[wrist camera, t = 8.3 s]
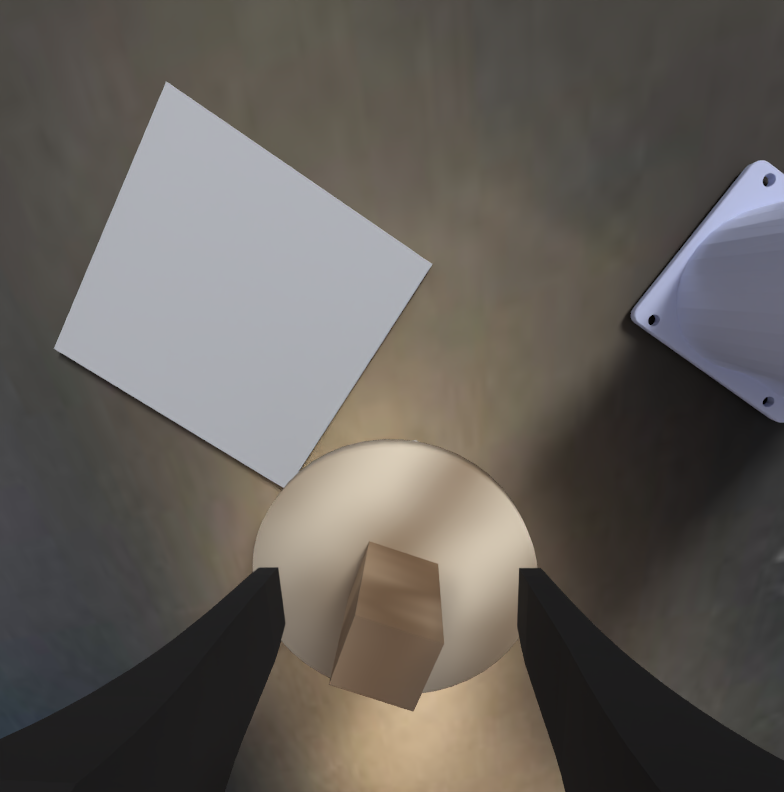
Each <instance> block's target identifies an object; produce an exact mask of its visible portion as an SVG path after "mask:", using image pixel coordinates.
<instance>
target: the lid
mask: <svg viewBox="0 0 784 792" xmlns="http://www.w3.org/2000/svg"><path fill="white" fill-rule="evenodd" d="M259 567H278V569H279V577H280V584H281V592H282V600H283V607H284V615H285V623H286V624H285V628H284V632H283V635H282V639H281V641H282V642H283V643H284V644H285V645H286V646H287V647H288V648H289V649H290V651H291V652H292V653H293V654H295V655H296V656H297V657H298V658H300V659H301V660H302V661H303V662H304V663H306V664H307V665H309V666H310V667H312V668H313V669H315V670H316V671H318V672H319V673H321V674H323V675H325V676H327V677H329V678H330V682H329V685H332V686H335V687H338V688H341V689H344V690H348V691H351V692H354V693H357V694H360V695H363V696H366V697H369V698H373V699H376V700H379V701H382V702H385V703H388V704H391V705H394V706H398V707H401V708H404V709H407V710H410V711H414V709H415V707H416V705H417V703H418V700H419V698H420V696H421V694H422V693H426V692H432V691H437V690H441V689H444V688H448V687H452V686H454V685H457V684H459V683H462V682H464V681H467V680H469V679H471V678H473V677H474V676H476V675H478V674H480V673H482V672H483V671H485V670H486V669H487V668H489V667H490V666H492V665H493V664H495V663H496V662H497V661H498V660H499V659H500V658H501V657H502V656H503V655H504V654H506V653H507V652H508V650H509V649H510V648H511V647H512V646H513V644H514V643H515V642H516V641H517V639H518V638H519V634H518V629H517V613H518V584H519V568H537V560H536V556H535V551H534V547H533V544H532V541H531V538H530V536H529V533H528V531H527V528H526V526H525V524H524V522H523V520H522V517H521V515H520V514H519V512H518V510H517V508H516V506H515V505H514V503H513V501H512V500H511V499H510V497H509V496H508V495H507V493H506V492H505V491H504V490H503V488H502V487H501V486H500V485H499V484H498V483H497V482H496V481H495V480H494V479H493V478H492V477H491V476H490V475H489V474H487V473H486V472H485V471H483V470H482V469H481V468H479V467H478V466H477V465H475V464H474V463H472V462H470V461H469V460H467V459H465V458H463V457H461V456H460V455H458V454H456V453H453V452H451V451H448V450H446V449H443V448H441V447H437V446H434V445H430V444H426V443H422V442H416V441H409V440H395V439H382V440H373V441H364V442H360V443H356V444H352V445H347V446H344V447H342V448H339V449H337V450H334V451H331V452H329V453H327V454H325V455H323V456H322V457H320V458H318V459H316V460H314V461H313V462H311V463H310V464H309V465H307V466H306V467H305V468H303V469H302V470H300V471H299V472H298V473H297V474H296V475H295V476H294V477H293V478H292V479H291V480H290V481H289V482H288V483H287V485H286V486H285V487H284V488H283V490H282V491H281V492H280V494H279V495H278V496H277V498H276V499H275V501H274V502H273V504H272V505H271V507H270V508H269V510H268V512H267V514H266V516H265V517H264V519H263V521H262V523H261V526H260V529H259V532H258V534H257V537H256V542H255V547H254V552H253V572H254V571H255V570H256V569H258V568H259Z"/></svg>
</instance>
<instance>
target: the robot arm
mask: <svg viewBox="0 0 784 792" xmlns="http://www.w3.org/2000/svg"><path fill="white" fill-rule="evenodd" d="M764 176H766V177H767V178H768V184H767V186H764V185H763V178H764ZM652 315H654V316H655V322H654V323H653V324H652V325H649V323H648V319H649V317H650V316H652ZM631 319H632V321H633V322H634V323H635V324H637V325H638V326H639V327H641V328H642V329H644V330H645V331H647V332H648V333H649V334H651V335H652V336H654V337H655V338H656V339H658V340H659V341H661V342H662V343H663V344H665V345H666V346H668V347H669V348H671V349H672V350H673V351H675V352H676V353H678V354H679V355H680V356H682V357H683V358H685V359H686V360H687V361H689V362H690V363H692V364H693V365H695V366H696V367H697V368H699V369H700V370H702V371H703V372H704V373H706V374H707V375H709V376H710V377H712V378H713V379H714V380H716V381H717V382H719V383H720V384H721V385H723V386H724V387H726V388H727V389H728V390H730V391H731V392H733V393H734V394H736V395H737V396H738V397H740V398H741V399H743V400H744V401H745V402H747V403H748V404H750V405H751V406H752V407H754V408H755V409H757V410H758V411H760V412H761V413H762V414H764V415H765V416H767V417H768V418H769V419H771V420H774V421H776V422H779V423H784V174H783V173H781V172H780V171H779V170H778V169H776V168H775V167H774V166H772V165H771V164H770V163H769V162H767V161H764V160H763V161H757V162H754V163H752V164H750V165H748V166H747V167H746V168H745V169H744V170H743V171H742V173H741V174H740V175H739V176H738V178H737V179H736V180H735V181H734V183H733V184H732V185H731V186H730V188H729V189H728V190H727V191H726V193H725V194H724V195H723V196H722V198H721V199H720V200H719V201H718V203H717V204H716V205H715V206H714V208H713V209H712V210H711V211H710V213H709V214H708V215H707V216H706V218H705V219H704V220H703V221H702V223H701V224H700V225H699V226H698V228H697V229H696V230H695V231H694V233H693V234H692V235H691V236H690V238H689V239H688V240H687V241H686V243H685V244H684V245H683V246H682V248H681V249H680V250H679V251H678V253H677V254H676V255H675V256H674V258H673V259H672V260H671V261H670V263H669V264H668V265H667V266H666V268H665V269H664V270H663V271H662V273H661V274H660V275H659V276H658V278H657V279H656V280H655V281H654V283H653V284H652V285H651V286H650V288H649V289H648V290H647V291H646V293H645V294H644V295H643V296H642V298H641V299H640V300H639V301H638V303H637V304H636V305H635V306H634V308H633V309H632V311H631ZM766 397H768V400H767V402H766V403H765V404H763V400H764V399H765V398H766ZM285 624H286V623H285V615H284V607H283V600H282V592H281V584H280V577H279V569H278V567H259V568H258V569H256V570H255V571H254V572H253V573H252V574H250V575H249V576H248V577H247V578H246V579H245V580H244V581H243V582H241V583H240V584H239V585H238V586H237V587H236V588H235V589H234V590H232V591H231V592H230V593H229V594H228V595H227V596H226V597H224V598H223V599H222V600H221V601H220V602H219V603H218V604H216V605H215V606H214V607H213V608H212V609H211V610H209V611H208V612H207V613H206V614H205V615H203V616H202V617H201V618H200V619H198V620H197V621H196V622H195V623H193V624H192V625H191V626H190V627H188V628H187V629H186V630H185V631H183V632H182V633H181V634H180V635H178V636H177V637H176V638H175V639H173V640H172V641H171V642H169V643H168V644H167V645H165V646H164V647H162V648H161V649H160V650H158V651H157V652H155V653H154V654H153V655H151V656H150V657H148V658H147V659H145V660H144V661H142V662H141V663H139V664H138V665H136V666H135V667H133V668H132V669H130V670H129V671H127V672H125V673H124V674H122V675H120V676H119V677H117V678H115V679H114V680H112V681H111V682H109V683H107V684H106V685H104V686H102V687H101V688H99V689H97V690H96V691H94V692H92V693H91V694H89V695H87V696H85V697H83V698H82V699H80V700H78V701H76V702H74V703H73V704H71V705H69V706H67V707H65V708H63V709H61V710H59V711H57V712H55V713H54V714H52V715H50V716H48V717H46V718H44V719H42V720H40V721H38V722H36V723H34V724H32V725H30V726H28V727H25V728H23V729H21V730H19V731H17V732H15V733H12V734H10V735H8V736H6V737H4V738H1V739H0V792H225V789H226V786H227V783H228V780H229V776H230V773H231V770H232V767H233V764H234V761H235V758H236V756H237V753H238V750H239V748H240V745H241V742H242V740H243V737H244V735H245V733H246V730H247V728H248V725H249V723H250V720H251V718H252V716H253V713H254V711H255V708H256V706H257V704H258V701H259V699H260V696H261V694H262V692H263V689H264V687H265V684H266V682H267V679H268V677H269V674H270V672H271V669H272V667H273V664H274V662H275V659H276V656H277V653H278V649H279V646H280V643H281V639H282V635H283V632H284V628H285ZM517 629H518V634H519V638H520V643H521V648H522V652H523V657H524V661H525V665H526V668H527V671H528V674H529V677H530V680H531V683H532V686H533V689H534V692H535V695H536V698H537V701H538V704H539V707H540V710H541V713H542V716H543V719H544V722H545V725H546V728H547V731H548V734H549V737H550V740H551V743H552V746H553V749H554V752H555V755H556V759H557V762H558V766H559V769H560V772H561V776H562V780H563V784H564V788H565V792H784V761H783V760H782V759H780V758H778V757H776V756H774V755H772V754H771V753H769V752H767V751H765V750H763V749H762V748H760V747H758V746H757V745H755V744H753V743H752V742H750V741H748V740H747V739H745V738H743V737H742V736H740V735H739V734H737V733H735V732H734V731H732V730H730V729H729V728H727V727H726V726H724V725H722V724H721V723H719V722H718V721H716V720H715V719H713V718H712V717H710V716H709V715H707V714H705V713H704V712H702V711H701V710H699V709H698V708H697V707H695V706H694V705H692V704H691V703H689V702H688V701H687V700H685V699H684V698H682V697H681V696H680V695H678V694H677V693H675V692H674V691H672V690H671V689H670V688H668V687H667V686H666V685H664V684H663V683H662V682H660V681H659V680H658V679H656V678H655V677H654V676H653V675H651V674H650V673H649V672H648V671H646V670H645V669H644V668H642V667H641V666H640V665H639V664H637V663H636V662H635V661H634V660H632V659H631V658H630V657H629V656H628V655H627V654H625V653H624V652H623V651H622V650H621V649H620V648H619V647H617V646H616V645H615V644H614V643H613V642H612V641H611V640H610V639H609V638H607V637H606V636H605V635H604V634H603V633H602V632H601V631H600V630H599V629H598V628H597V627H596V626H595V625H594V624H593V623H592V622H591V621H590V620H589V619H588V618H587V617H586V616H585V615H584V614H583V613H582V612H581V611H580V610H579V609H578V608H577V607H576V606H575V605H574V604H573V603H572V602H571V601H570V600H569V598H568V597H567V596H566V595H565V594H564V593H563V592H562V591H561V590H560V589H559V588H558V586H557V585H556V584H555V583H554V582H553V581H552V580H551V579H550V578H549V577H548V575H547V574H546V573H545V572H544V571H543V570H542V569H541V568H519V584H518V613H517Z"/></svg>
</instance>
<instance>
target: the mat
mask: <svg viewBox="0 0 784 792" xmlns="http://www.w3.org/2000/svg"><path fill="white" fill-rule="evenodd" d="M431 266H432V264H431V263H430V262H428V261H427V260H425V259H424V258H423V257H421V256H420V255H418V254H417V253H415V252H414V251H412V250H411V249H409V248H408V247H407V246H405V245H404V244H402V243H401V242H399V241H398V240H396V239H395V238H393V237H392V236H390V235H389V234H388V233H386V232H385V231H383V230H382V229H380V228H379V227H377V226H376V225H374V224H373V223H372V222H370V221H369V220H367V219H366V218H364V217H363V216H361V215H360V214H358V213H357V212H356V211H354V210H353V209H351V208H350V207H348V206H347V205H345V204H344V203H342V202H341V201H340V200H338V199H337V198H335V197H334V196H332V195H331V194H329V193H328V192H326V191H325V190H323V189H322V188H321V187H319V186H318V185H316V184H315V183H313V182H312V181H310V180H309V179H307V178H306V177H305V176H303V175H302V174H300V173H299V172H297V171H296V170H294V169H293V168H291V167H290V166H289V165H287V164H286V163H284V162H283V161H281V160H280V159H278V158H277V157H275V156H274V155H272V154H271V153H270V152H268V151H267V150H265V149H264V148H262V147H261V146H259V145H258V144H256V143H255V142H254V141H252V140H251V139H249V138H248V137H246V136H245V135H243V134H242V133H240V132H239V131H238V130H236V129H235V128H233V127H232V126H230V125H229V124H227V123H226V122H224V121H223V120H222V119H220V118H219V117H217V116H216V115H214V114H213V113H211V112H210V111H208V110H207V109H205V108H204V107H203V106H201V105H200V104H198V103H197V102H195V101H194V100H192V99H191V98H189V97H188V96H187V95H185V94H184V93H182V92H181V91H179V90H178V89H176V88H175V87H173V86H172V85H171V84H169V83H168V82H166V84H165V86H164V88H163V91H162V93H161V95H160V98H159V100H158V103H157V105H156V107H155V110H154V112H153V114H152V117H151V119H150V122H149V124H148V126H147V129H146V131H145V134H144V136H143V138H142V141H141V143H140V145H139V148H138V150H137V153H136V155H135V157H134V160H133V162H132V164H131V167H130V169H129V172H128V174H127V176H126V179H125V181H124V183H123V186H122V188H121V191H120V193H119V195H118V198H117V200H116V203H115V205H114V207H113V210H112V212H111V214H110V217H109V219H108V222H107V224H106V226H105V229H104V231H103V233H102V236H101V238H100V241H99V243H98V245H97V248H96V250H95V252H94V255H93V257H92V260H91V262H90V264H89V267H88V269H87V271H86V274H85V276H84V279H83V281H82V283H81V286H80V288H79V291H78V293H77V295H76V298H75V300H74V302H73V305H72V307H71V310H70V312H69V314H68V317H67V319H66V321H65V324H64V326H63V329H62V331H61V333H60V336H59V338H58V340H57V343H56V345H55V348H54V349H56V350H57V351H59V352H60V353H62V354H64V355H65V356H67V357H69V358H70V359H72V360H74V361H75V362H77V363H79V364H80V365H82V366H84V367H85V368H87V369H88V370H90V371H92V372H93V373H95V374H97V375H98V376H100V377H102V378H103V379H105V380H107V381H108V382H110V383H111V384H113V385H115V386H116V387H118V388H120V389H121V390H123V391H125V392H126V393H128V394H130V395H131V396H133V397H135V398H136V399H138V400H139V401H141V402H143V403H144V404H146V405H148V406H149V407H151V408H153V409H154V410H156V411H158V412H159V413H161V414H163V415H164V416H166V417H167V418H169V419H171V420H172V421H174V422H176V423H177V424H179V425H181V426H182V427H184V428H186V429H187V430H189V431H191V432H192V433H194V434H195V435H197V436H199V437H200V438H202V439H204V440H205V441H207V442H209V443H210V444H212V445H214V446H215V447H217V448H219V449H220V450H222V451H223V452H225V453H227V454H228V455H230V456H232V457H233V458H235V459H237V460H238V461H240V462H242V463H243V464H245V465H246V466H248V467H250V468H251V469H253V470H255V471H256V472H258V473H260V474H261V475H263V476H265V477H266V478H268V479H270V480H271V481H273V482H274V483H276V484H278V485H279V486H281V487H283V488H284V487H285V486H286V485H287V483H288V482H289V481H290V480H291V479H292V478H293V477H294V476H295V475H296V474H297V473H298V472H299V470H300V469H301V467H302V465H303V464H304V462H305V461H306V459H307V458H308V456H309V455H310V453H311V452H312V450H313V448H314V447H315V445H316V444H317V442H318V441H319V439H320V438H321V436H322V435H323V433H324V431H325V430H326V428H327V427H328V425H329V424H330V422H331V421H332V419H333V417H334V416H335V414H336V413H337V411H338V410H339V408H340V407H341V405H342V404H343V402H344V400H345V399H346V397H347V396H348V394H349V393H350V391H351V390H352V388H353V386H354V385H355V383H356V382H357V380H358V379H359V377H360V376H361V374H362V373H363V371H364V369H365V368H366V366H367V365H368V363H369V362H370V360H371V359H372V357H373V355H374V354H375V352H376V351H377V349H378V348H379V346H380V345H381V343H382V342H383V340H384V338H385V337H386V335H387V334H388V332H389V331H390V329H391V328H392V326H393V324H394V323H395V321H396V320H397V318H398V317H399V315H400V314H401V312H402V311H403V309H404V307H405V306H406V304H407V303H408V301H409V300H410V298H411V297H412V295H413V293H414V292H415V290H416V289H417V287H418V286H419V284H420V283H421V281H422V280H423V278H424V276H425V275H426V273H427V272H428V270H429V269H430V267H431Z"/></svg>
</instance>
